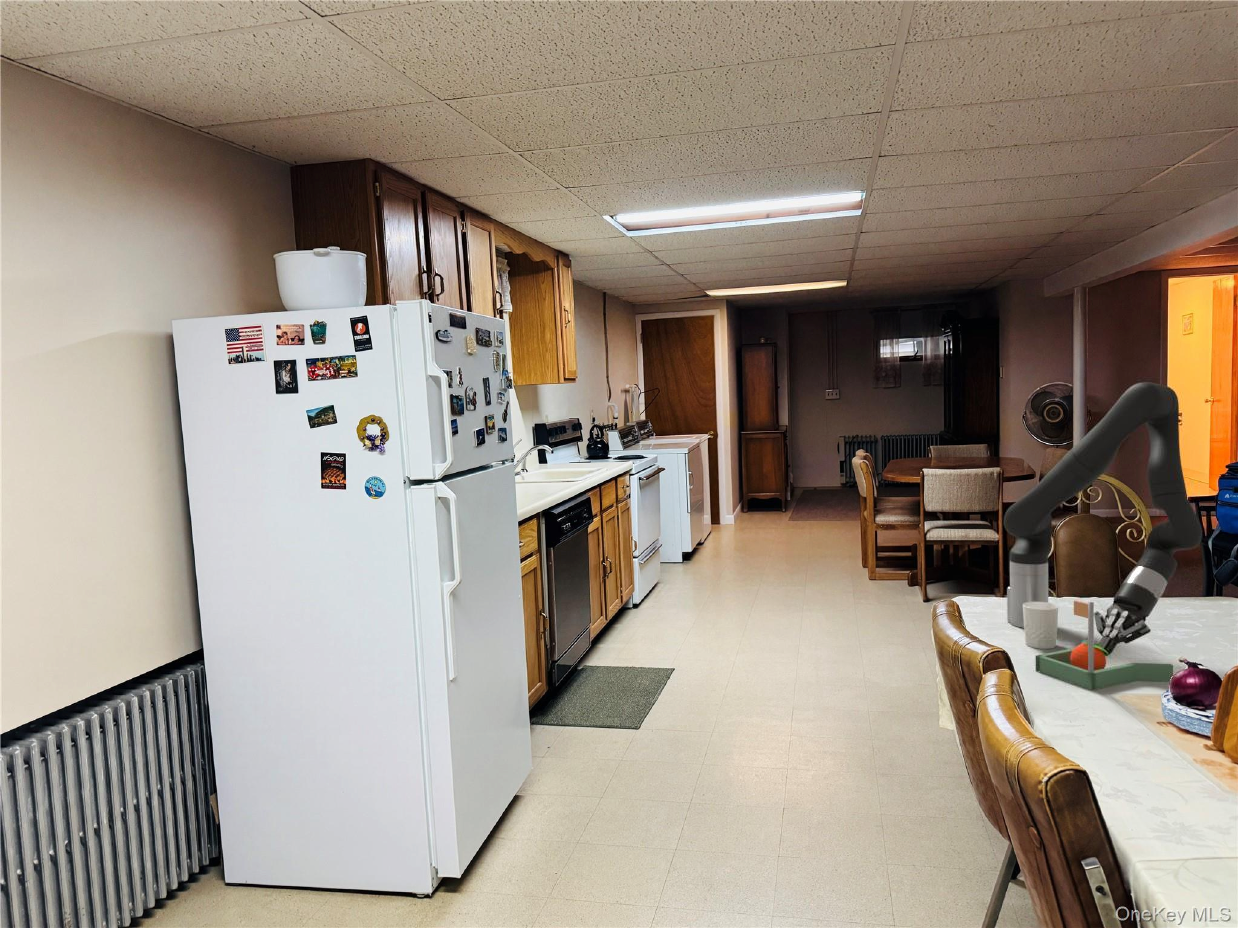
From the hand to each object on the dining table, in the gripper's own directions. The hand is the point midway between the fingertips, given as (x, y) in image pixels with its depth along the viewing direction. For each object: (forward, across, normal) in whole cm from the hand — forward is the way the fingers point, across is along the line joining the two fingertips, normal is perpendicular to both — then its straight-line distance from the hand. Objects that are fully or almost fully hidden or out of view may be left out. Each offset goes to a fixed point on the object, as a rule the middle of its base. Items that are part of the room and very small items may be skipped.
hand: (1101, 653), depth 185 cm
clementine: (+6, 0, +1) cm, 6 cm away
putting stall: (+4, -1, +2) cm, 5 cm away
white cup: (-1, -22, +7) cm, 23 cm away
